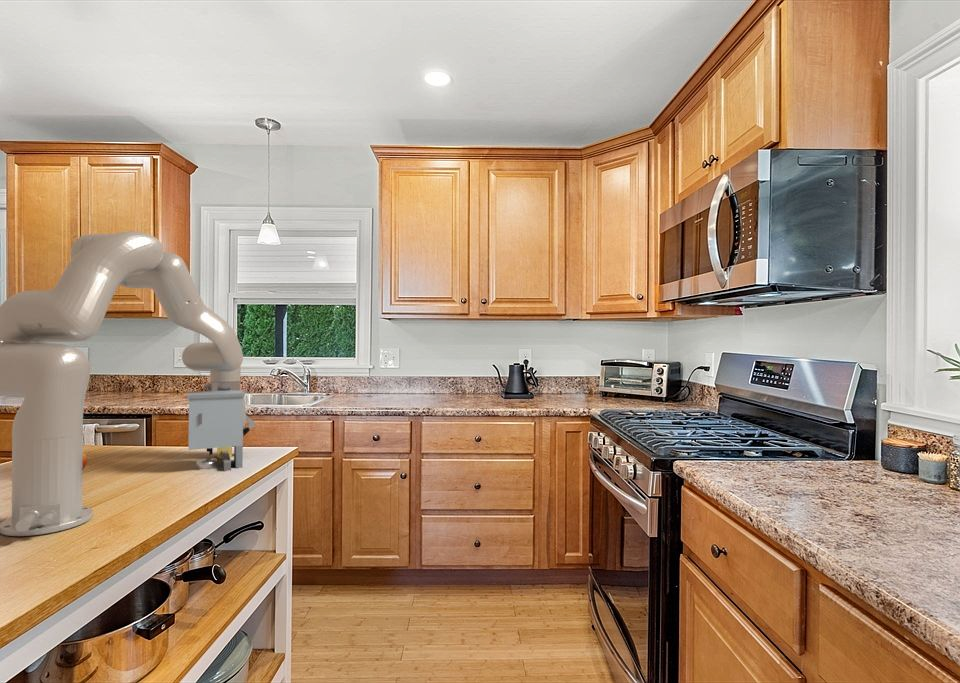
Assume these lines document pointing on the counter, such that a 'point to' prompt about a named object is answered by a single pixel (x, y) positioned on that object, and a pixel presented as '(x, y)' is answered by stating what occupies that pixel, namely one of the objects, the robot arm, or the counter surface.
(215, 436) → the cabinet
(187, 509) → the counter surface
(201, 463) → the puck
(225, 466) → the blade tool
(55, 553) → the counter surface
